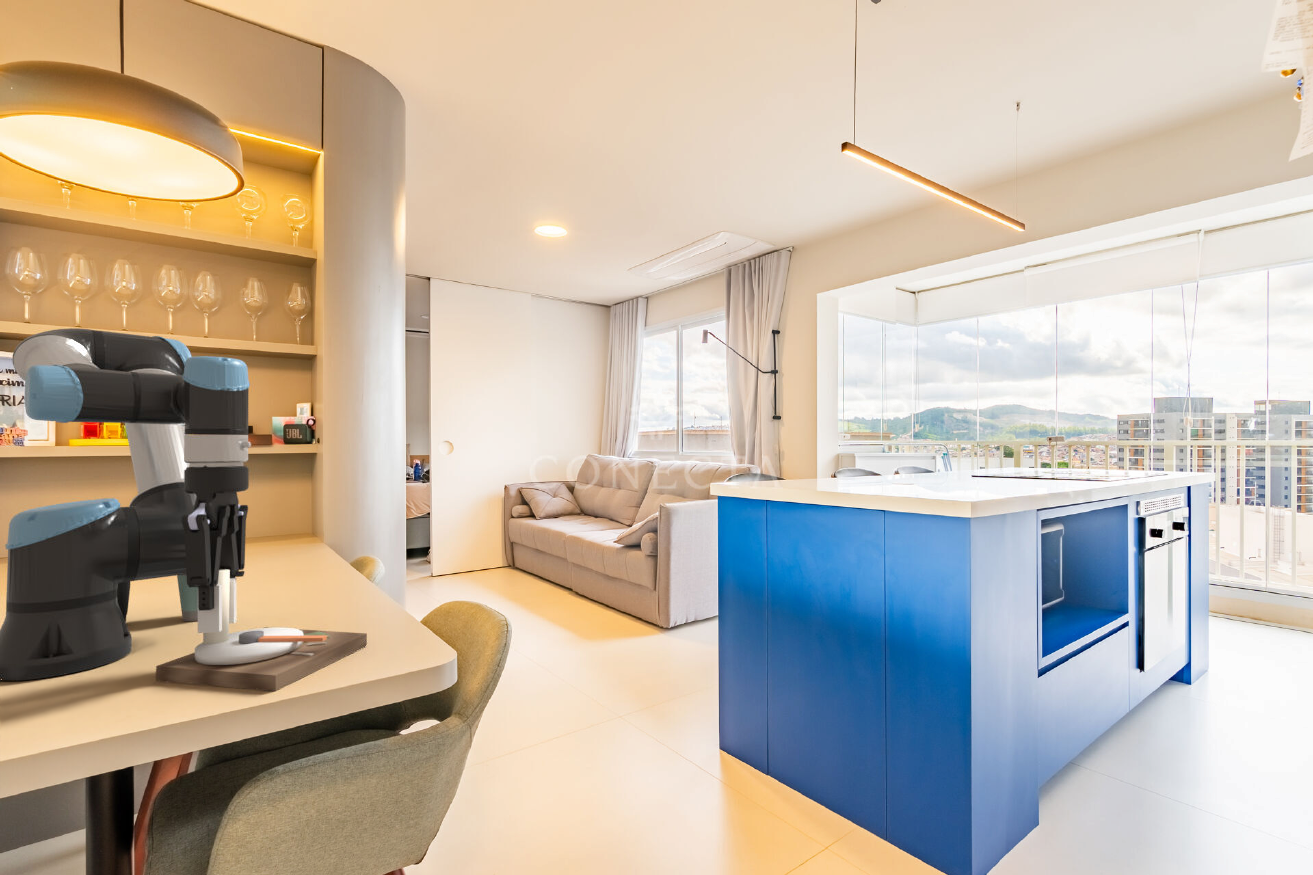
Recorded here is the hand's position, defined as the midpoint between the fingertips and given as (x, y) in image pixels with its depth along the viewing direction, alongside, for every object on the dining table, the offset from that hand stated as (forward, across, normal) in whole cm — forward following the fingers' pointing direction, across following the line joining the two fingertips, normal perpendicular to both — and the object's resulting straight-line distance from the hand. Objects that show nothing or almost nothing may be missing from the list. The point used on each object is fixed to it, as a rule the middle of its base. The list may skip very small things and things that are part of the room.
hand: (217, 626), depth 87 cm
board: (+6, 0, -7) cm, 9 cm away
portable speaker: (+6, +25, +30) cm, 40 cm away
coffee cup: (+6, +29, +16) cm, 33 cm away
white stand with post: (+3, -1, -7) cm, 8 cm away
